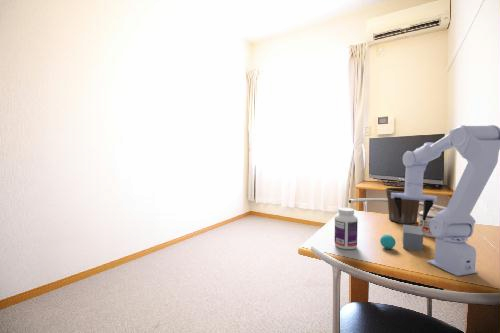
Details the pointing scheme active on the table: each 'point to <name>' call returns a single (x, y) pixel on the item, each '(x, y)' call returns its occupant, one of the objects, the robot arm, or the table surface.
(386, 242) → the ball
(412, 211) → the plant pot
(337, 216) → the pill bottle
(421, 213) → the teacup with lid
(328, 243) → the table surface
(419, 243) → the grey block
